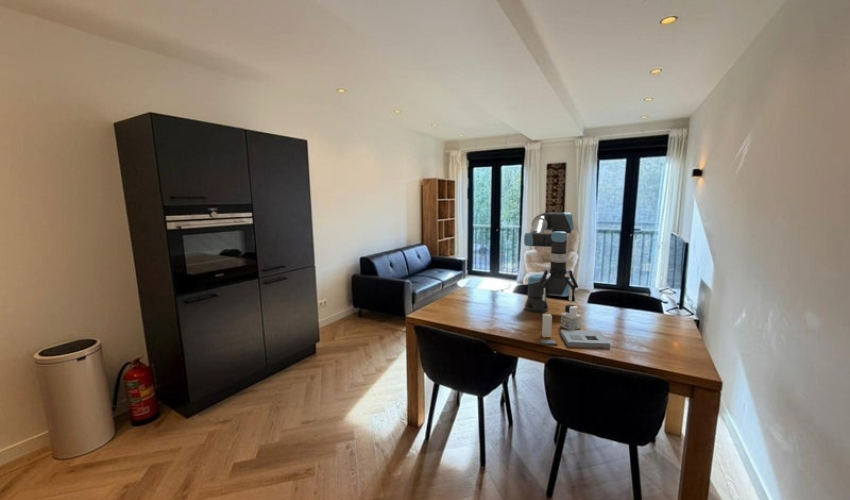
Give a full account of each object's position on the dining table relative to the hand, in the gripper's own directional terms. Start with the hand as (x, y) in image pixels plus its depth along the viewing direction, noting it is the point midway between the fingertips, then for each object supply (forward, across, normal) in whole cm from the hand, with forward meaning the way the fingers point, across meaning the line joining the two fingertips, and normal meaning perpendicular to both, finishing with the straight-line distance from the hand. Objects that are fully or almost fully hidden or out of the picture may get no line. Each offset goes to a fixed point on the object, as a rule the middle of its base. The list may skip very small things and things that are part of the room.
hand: (556, 300), depth 182 cm
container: (+21, +12, +15) cm, 28 cm away
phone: (+21, -6, -8) cm, 23 cm away
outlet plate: (+21, +13, -4) cm, 25 cm away
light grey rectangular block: (+21, -4, +1) cm, 21 cm away
